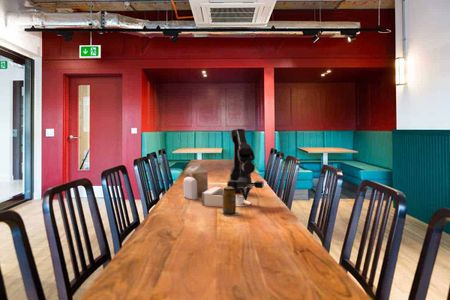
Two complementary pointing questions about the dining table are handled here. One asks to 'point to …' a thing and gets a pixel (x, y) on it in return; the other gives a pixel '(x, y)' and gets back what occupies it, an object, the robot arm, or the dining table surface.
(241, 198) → the white ring with cylinder
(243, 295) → the dining table surface
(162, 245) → the dining table surface
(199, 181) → the milk carton
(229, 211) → the condiment
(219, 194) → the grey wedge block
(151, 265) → the dining table surface
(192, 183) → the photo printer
